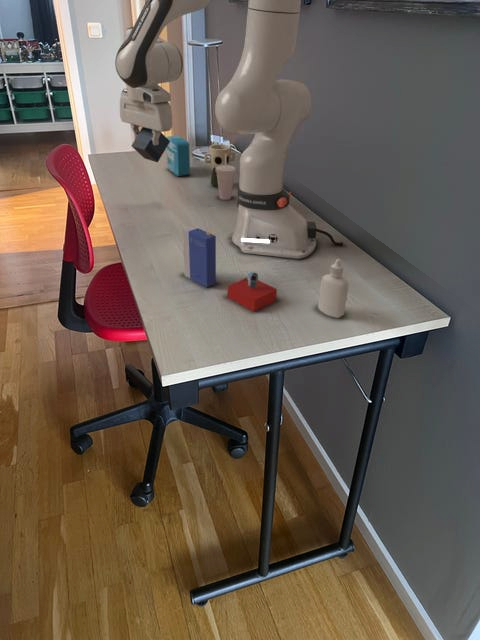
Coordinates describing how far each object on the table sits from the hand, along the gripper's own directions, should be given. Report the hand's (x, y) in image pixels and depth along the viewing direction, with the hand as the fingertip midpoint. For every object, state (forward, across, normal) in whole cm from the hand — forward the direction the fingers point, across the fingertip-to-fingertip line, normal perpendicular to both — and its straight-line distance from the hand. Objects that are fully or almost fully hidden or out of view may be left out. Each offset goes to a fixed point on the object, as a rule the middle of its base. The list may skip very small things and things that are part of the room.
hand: (146, 142), depth 150 cm
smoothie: (+18, +14, +19) cm, 30 cm away
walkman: (+18, +50, -26) cm, 59 cm away
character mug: (+18, +4, +27) cm, 33 cm away
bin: (+3, 0, +4) cm, 5 cm away
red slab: (+18, +64, -24) cm, 71 cm away
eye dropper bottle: (+18, +79, -16) cm, 83 cm away
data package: (+18, -17, +27) cm, 37 cm away
